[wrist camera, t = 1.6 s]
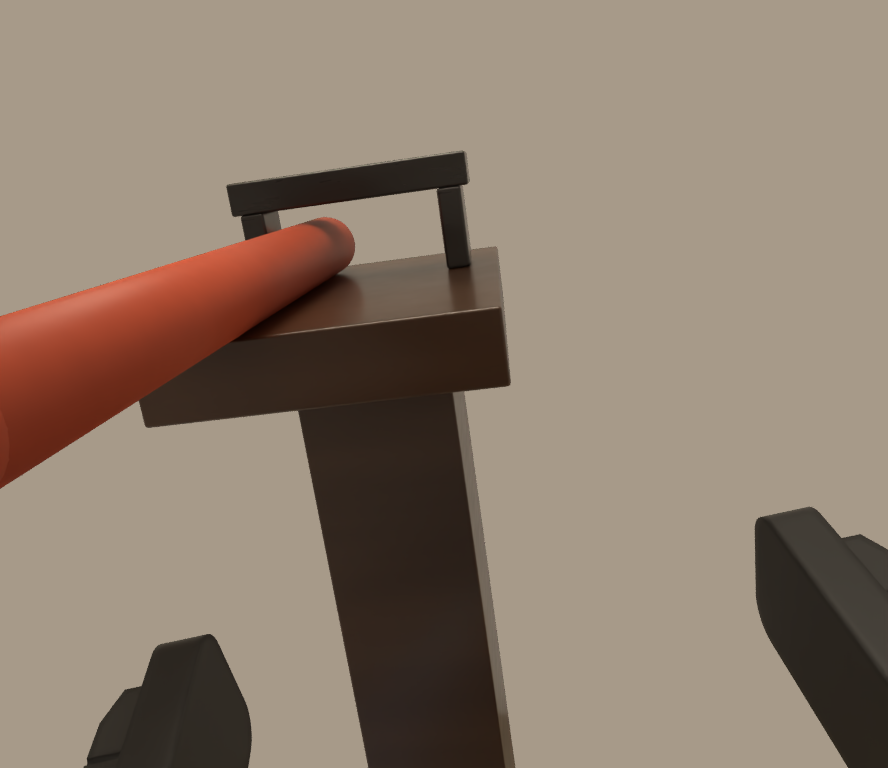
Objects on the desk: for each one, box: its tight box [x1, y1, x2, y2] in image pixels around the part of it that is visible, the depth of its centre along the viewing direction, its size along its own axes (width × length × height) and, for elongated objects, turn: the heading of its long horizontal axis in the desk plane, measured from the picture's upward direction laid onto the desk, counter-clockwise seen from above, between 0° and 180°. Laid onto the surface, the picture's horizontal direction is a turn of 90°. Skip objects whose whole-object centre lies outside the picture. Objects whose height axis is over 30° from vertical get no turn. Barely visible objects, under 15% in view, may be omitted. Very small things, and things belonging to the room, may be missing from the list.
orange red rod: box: [0, 217, 355, 489], centre depth 15 cm, size 17×2×2 cm
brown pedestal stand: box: [139, 151, 515, 768], centre depth 23 cm, size 11×8×35 cm
